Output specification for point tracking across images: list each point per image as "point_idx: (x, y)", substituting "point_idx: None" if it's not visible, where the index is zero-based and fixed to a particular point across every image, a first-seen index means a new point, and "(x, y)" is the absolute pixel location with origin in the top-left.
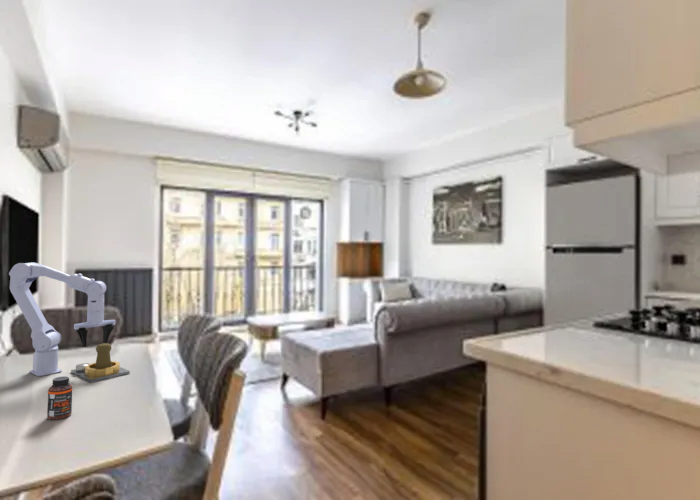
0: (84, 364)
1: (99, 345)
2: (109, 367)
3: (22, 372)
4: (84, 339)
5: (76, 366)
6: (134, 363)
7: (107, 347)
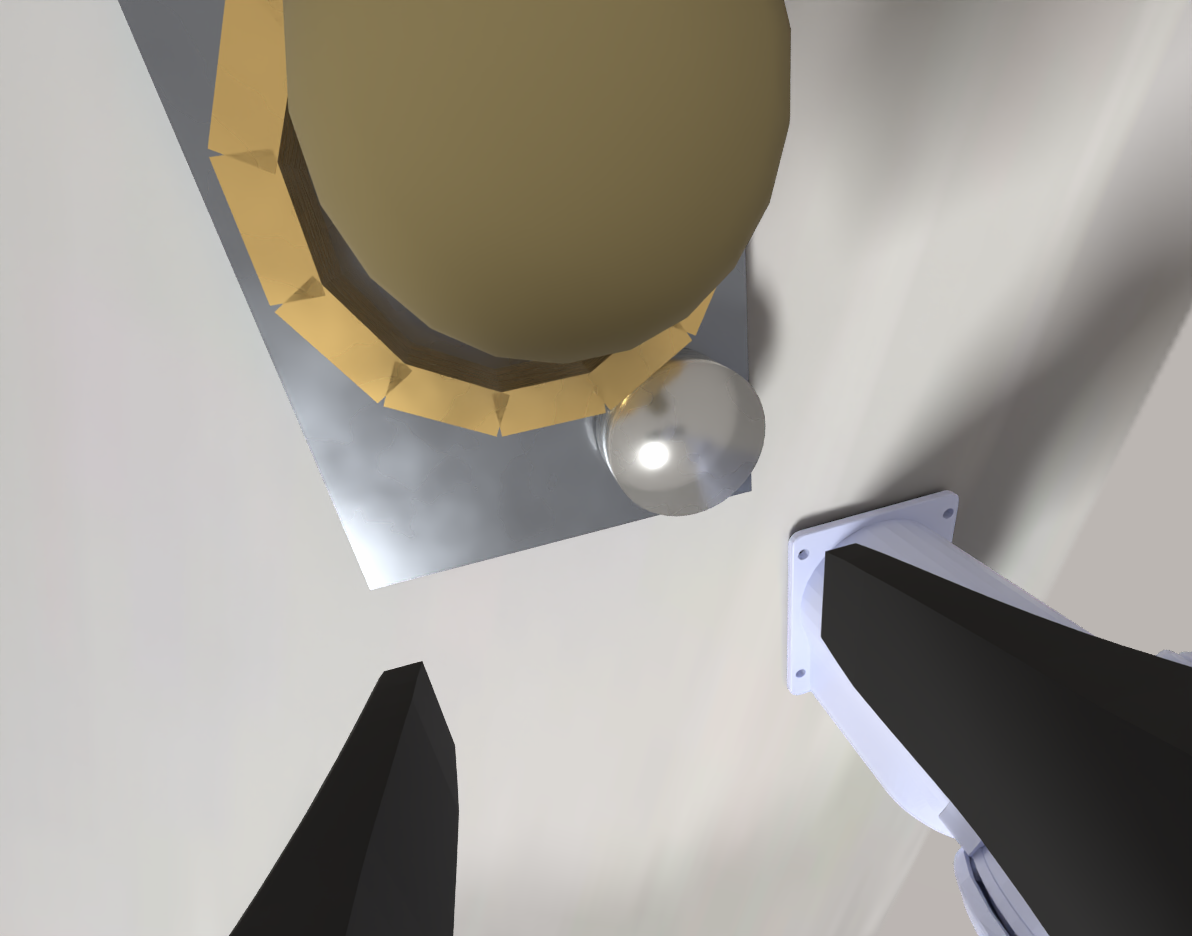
0: (674, 462)
1: (763, 2)
2: None
3: None
4: (1045, 631)
5: (764, 422)
6: (30, 485)
7: None
